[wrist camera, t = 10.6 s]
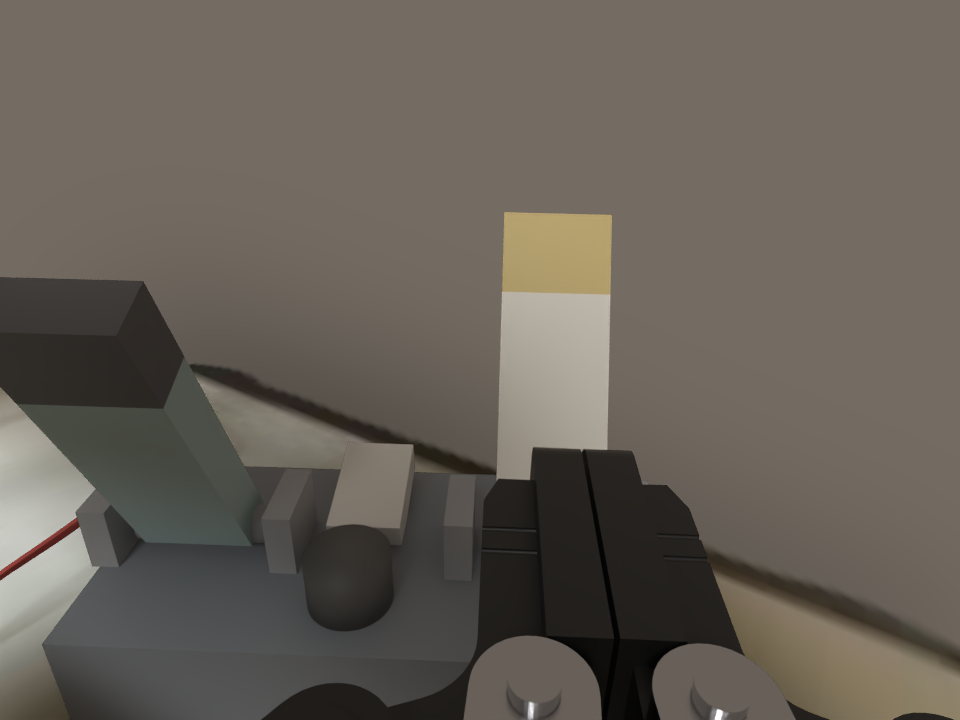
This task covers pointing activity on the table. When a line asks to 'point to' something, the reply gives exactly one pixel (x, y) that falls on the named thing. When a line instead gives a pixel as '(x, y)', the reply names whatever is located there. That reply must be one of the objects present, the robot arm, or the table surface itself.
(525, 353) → the white and yellow lever
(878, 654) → the table surface
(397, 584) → the console
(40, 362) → the teal lever
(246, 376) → the table surface
